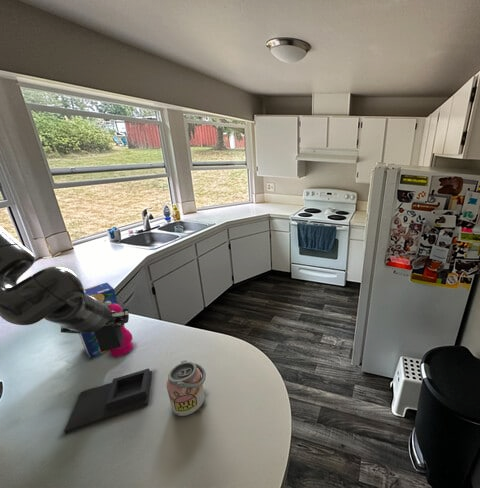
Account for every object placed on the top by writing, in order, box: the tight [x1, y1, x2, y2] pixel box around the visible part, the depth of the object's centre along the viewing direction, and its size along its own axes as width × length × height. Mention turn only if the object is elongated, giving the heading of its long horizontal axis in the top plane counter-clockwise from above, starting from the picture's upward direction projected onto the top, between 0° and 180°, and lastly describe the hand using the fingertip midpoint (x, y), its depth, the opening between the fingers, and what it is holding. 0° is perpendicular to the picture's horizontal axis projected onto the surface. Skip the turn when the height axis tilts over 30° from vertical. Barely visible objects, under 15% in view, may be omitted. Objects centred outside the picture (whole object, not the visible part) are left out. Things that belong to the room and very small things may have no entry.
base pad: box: [63, 368, 153, 434], centre depth 70 cm, size 17×12×4 cm
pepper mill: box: [104, 301, 134, 358], centre depth 84 cm, size 7×7×20 cm
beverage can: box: [166, 359, 207, 417], centre depth 68 cm, size 9×8×12 cm
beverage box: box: [78, 282, 126, 360], centre depth 86 cm, size 7×11×22 cm, turn 144°
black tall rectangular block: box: [94, 312, 124, 352], centre depth 71 cm, size 5×5×9 cm
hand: (109, 326), depth 72 cm, fingers closed on black tall rectangular block, 4 cm apart
